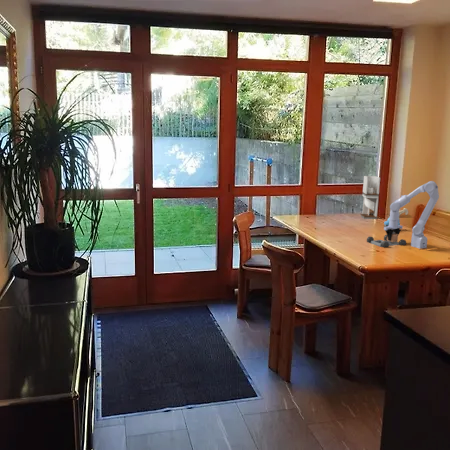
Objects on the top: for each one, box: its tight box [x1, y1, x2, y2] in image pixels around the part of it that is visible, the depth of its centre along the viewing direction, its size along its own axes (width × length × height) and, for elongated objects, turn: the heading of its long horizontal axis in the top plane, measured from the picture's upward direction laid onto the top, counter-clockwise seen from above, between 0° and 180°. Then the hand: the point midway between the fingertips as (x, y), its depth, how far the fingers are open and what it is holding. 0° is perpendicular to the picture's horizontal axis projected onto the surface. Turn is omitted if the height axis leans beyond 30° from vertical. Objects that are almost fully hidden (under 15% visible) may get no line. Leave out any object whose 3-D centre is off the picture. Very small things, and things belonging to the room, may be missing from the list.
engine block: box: [387, 232, 399, 242], centre depth 326 cm, size 5×4×6 cm
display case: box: [360, 175, 381, 220], centre depth 413 cm, size 11×11×35 cm
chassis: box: [366, 234, 407, 249], centre depth 324 cm, size 16×20×5 cm
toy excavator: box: [383, 207, 409, 231], centre depth 368 cm, size 9×17×17 cm, turn 78°
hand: (392, 239), depth 326 cm, fingers closed on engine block, 4 cm apart
